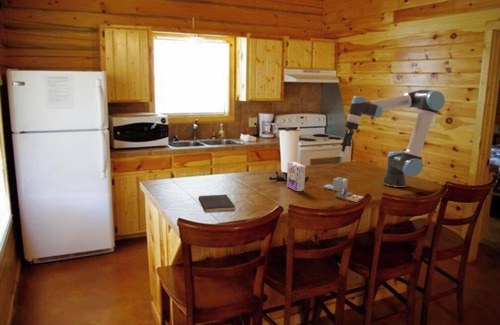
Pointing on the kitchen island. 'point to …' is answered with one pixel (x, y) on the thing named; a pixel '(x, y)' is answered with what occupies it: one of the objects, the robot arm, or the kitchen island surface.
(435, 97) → the robot arm
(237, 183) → the kitchen island surface
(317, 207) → the kitchen island surface
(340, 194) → the gray block on stand
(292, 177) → the candy box
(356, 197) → the frame leaf
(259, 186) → the kitchen island surface
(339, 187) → the grey l-shaped block
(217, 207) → the hardcover book
